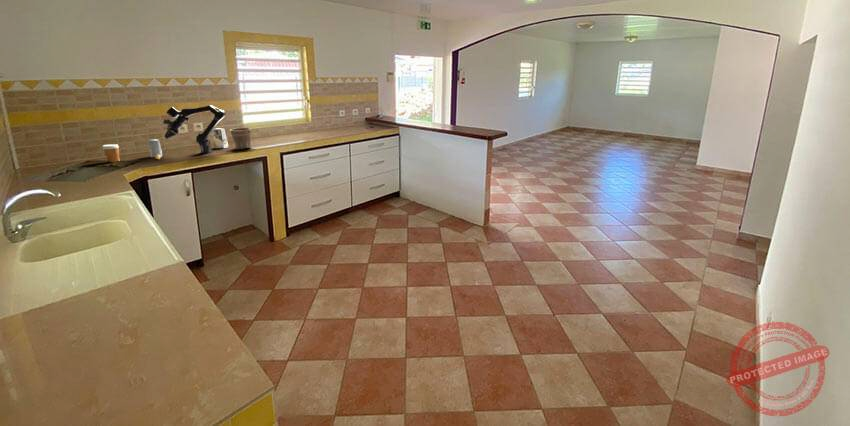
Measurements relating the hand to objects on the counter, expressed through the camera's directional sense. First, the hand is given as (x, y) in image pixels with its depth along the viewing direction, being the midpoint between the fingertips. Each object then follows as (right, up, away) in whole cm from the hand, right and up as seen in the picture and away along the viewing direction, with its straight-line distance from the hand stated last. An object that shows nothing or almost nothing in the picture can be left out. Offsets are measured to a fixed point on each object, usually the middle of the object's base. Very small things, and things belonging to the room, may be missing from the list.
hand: (165, 137), depth 310 cm
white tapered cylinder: (-7, -14, 0) cm, 16 cm away
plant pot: (+45, -3, +32) cm, 56 cm away
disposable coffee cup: (-26, -21, -18) cm, 38 cm away
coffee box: (+26, -2, +35) cm, 44 cm away
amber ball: (+1, -18, -10) cm, 20 cm away
